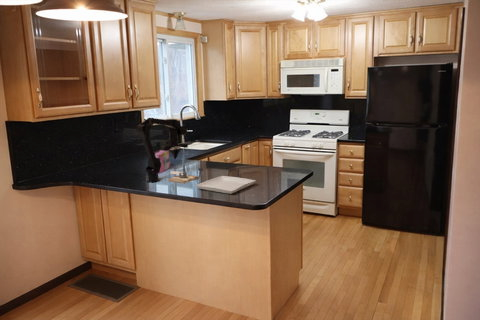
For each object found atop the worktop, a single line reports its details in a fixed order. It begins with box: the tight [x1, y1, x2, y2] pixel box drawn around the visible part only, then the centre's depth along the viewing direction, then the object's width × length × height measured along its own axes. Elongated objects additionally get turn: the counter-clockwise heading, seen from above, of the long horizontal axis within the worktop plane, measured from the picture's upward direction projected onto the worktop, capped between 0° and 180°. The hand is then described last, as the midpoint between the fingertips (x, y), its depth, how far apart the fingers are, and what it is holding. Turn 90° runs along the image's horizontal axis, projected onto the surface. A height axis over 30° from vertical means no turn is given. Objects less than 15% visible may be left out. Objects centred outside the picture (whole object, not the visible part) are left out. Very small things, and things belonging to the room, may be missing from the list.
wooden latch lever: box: [170, 170, 188, 178], centre depth 273 cm, size 13×5×3 cm, turn 58°
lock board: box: [167, 174, 199, 184], centre depth 272 cm, size 15×14×2 cm
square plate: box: [195, 175, 256, 195], centre depth 248 cm, size 27×27×4 cm
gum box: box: [154, 149, 171, 174], centre depth 305 cm, size 24×8×14 cm, turn 170°
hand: (175, 158), depth 283 cm, fingers closed
